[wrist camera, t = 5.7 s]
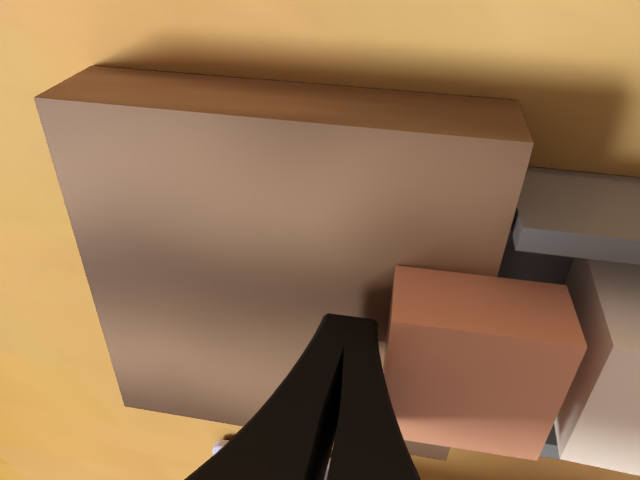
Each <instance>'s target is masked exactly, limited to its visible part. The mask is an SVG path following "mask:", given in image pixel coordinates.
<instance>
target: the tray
mask: <svg viewBox="0 0 640 480" xmlns="http://www.w3.org/2000/svg"><path fill="white" fill-rule="evenodd" d="M574 257H576V258H584V259H593V260H601V261H610V262H619V263H627V264H636V265H640V178H639V177H628V176H618V175H608V174H597V173H587V172H576V171H566V170H556V169H545V168H535V167H527V171H526V174H525V178H524V182H523V185H522V189H521V192H520V196H519V200H518V203H517V207H516V210H515V214H514V218H513V221H512V225H511V228H510V232H509V236H508V239H507V243H506V247H505V250H504V254H503V257H502V261H501V265H500V268H499V272H498V275H497V277H501V278H509V279H518V280H526V281H535V282H544V283H552V284H561V285H565V282H566V279H567V276H568V274H569V271H570V268H571V265H572V263H573V260H574ZM540 456H541V457H547V458H553V459H559V460H562V459H560V458H559V451H558V445H557V438H556V432H555V425H554V424H553V426H552V429H551V431H550V433H549V435H548V438H547V440H546V442H545V444H544V447H543V449H542V451H541V453H540ZM566 461H567V460H566Z"/></svg>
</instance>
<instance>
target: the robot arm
mask: <svg viewBox="0 0 640 480" xmlns="http://www.w3.org/2000/svg"><path fill="white" fill-rule="evenodd" d="M334 439H335V440H334ZM333 443H334V445H333ZM332 447H333V450H332ZM331 451H332V455H331ZM212 452H213V456H212V457H211V458H210V459H209V460H208V461H206V462H205V463H204V464H203V465H202V466H200V467H199V468H198V469H197V470H196V471H194V472H193V473H192V474H191V475H189V476H188V477H187V478H186V479H185V480H421V479H420V477H419V475H418V473H417V470H416V468H415V466H414V463H413V461H412V459H411V456H410V454H409V451H408V449H407V446H406V444H405V441H404V439H403V436H402V433H401V431H400V428H399V425H398V422H397V419H396V416H395V413H394V410H393V407H392V403H391V400H390V396H389V393H388V389H387V385H386V381H385V377H384V373H383V368H382V363H381V358H380V352H379V344H378V323H377V322H376V321H375V320H374V319H368V318H361V317H353V316H346V315H338V314H331V313H327V314H326V315H324V316H323V318H322V320H321V323H320V325H319V327H318V329H317V330H316V332H315V334H314V336H313V337H312V339H311V341H310V342H309V344H308V346H307V347H306V349H305V350H304V352H303V353H302V355H301V356H300V358H299V359H298V361H297V362H296V364H295V365H294V366H293V368H292V369H291V371H290V372H289V374H288V375H287V376H286V378H285V379H284V380H283V381H282V383H281V384H280V385H279V386H278V388H277V389H276V390H275V391H274V393H273V394H272V395H271V396H270V398H269V399H268V400H267V401H266V402H265V404H264V405H263V406H262V407H261V408H260V409H259V410H258V412H257V413H256V414H255V415H254V416H253V417H252V418H251V419H250V420H249V421H248V422H247V423H246V424H245V426H244V427H243V428H242V429H241V430H240V431H239V432H238V433H237V434H236V435H234V436H233V437H232V438H231V439H230V440H218V441H216V442H215V444H214V447H213V450H212ZM330 455H331V458H330Z"/></svg>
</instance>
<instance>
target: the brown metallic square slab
mask: <svg viewBox="0 0 640 480" xmlns="http://www.w3.org/2000/svg"><path fill="white" fill-rule="evenodd" d="M34 100H35V103H36V107H37V110H38V113H39V117H40V120H41V124H42V127H43V130H44V134H45V137H46V141H47V144H48V147H49V151H50V154H51V158H52V161H53V164H54V168H55V171H56V175H57V178H58V181H59V185H60V188H61V191H62V195H63V198H64V202H65V205H66V208H67V212H68V215H69V219H70V222H71V225H72V229H73V232H74V236H75V239H76V242H77V246H78V249H79V253H80V256H81V259H82V263H83V266H84V270H85V273H86V276H87V280H88V283H89V287H90V290H91V293H92V297H93V300H94V304H95V307H96V310H97V314H98V317H99V321H100V324H101V327H102V331H103V334H104V337H105V341H106V344H107V348H108V351H109V354H110V358H111V361H112V365H113V368H114V371H115V375H116V378H117V382H118V385H119V388H120V392H121V395H122V399H123V402H124V405H125V406H126V407H132V408H138V409H144V410H150V411H156V412H162V413H168V414H174V415H180V416H185V417H191V418H197V419H203V420H209V421H215V422H221V423H227V424H233V425H239V426H245V424H246V423H247V422H248V421H249V420H250V419H251V418H252V417H253V416H254V415H255V414H256V413H257V412H258V410H259V409H260V408H261V407H262V406H263V405H264V404H265V402H266V401H267V400H268V399H269V398H270V396H271V395H272V394H273V393H274V391H275V390H276V389H277V388H278V386H279V385H280V384H281V383H282V381H283V380H284V379H285V378H286V376H287V375H288V374H289V372H290V371H291V369H292V368H293V366H294V365H295V364H296V362H297V361H298V359H299V358H300V356H301V355H302V353H303V352H304V350H305V349H306V347H307V346H308V344H309V342H310V341H311V339H312V337H313V336H314V334H315V332H316V330H317V329H318V327H319V325H320V323H321V320H322V318H323V316H324V315H326V314H327V313H331V314H338V315H346V316H353V317H361V318H368V319H374V320H375V321H376V322H377V323H378V344H379V352H380V358H381V363H382V365H383V357H384V349H385V342H386V334H387V326H388V319H389V311H390V303H391V296H392V288H393V280H394V273H395V265H398V266H407V267H415V268H424V269H432V270H441V271H449V272H458V273H467V274H475V275H484V276H492V277H497V275H498V272H499V268H500V265H501V261H502V257H503V254H504V250H505V247H506V243H507V239H508V236H509V232H510V228H511V225H512V221H513V218H514V214H515V210H516V207H517V203H518V200H519V196H520V192H521V189H522V185H523V182H524V178H525V174H526V171H527V167H528V164H529V160H530V156H531V153H532V149H533V145H534V141H533V139H532V136H531V133H530V131H529V128H528V126H527V123H526V120H525V118H524V115H523V113H522V110H521V107H520V105H519V102H518V100H508V99H496V98H484V97H472V96H459V95H447V94H435V93H422V92H410V91H398V90H385V89H373V88H361V87H348V86H336V85H324V84H311V83H299V82H287V81H274V80H262V79H250V78H237V77H225V76H213V75H200V74H188V73H176V72H163V71H151V70H139V69H127V68H114V67H102V66H90V67H88V68H86V69H84V70H83V71H81V72H79V73H77V74H75V75H74V76H72V77H70V78H68V79H66V80H65V81H63V82H61V83H59V84H57V85H56V86H54V87H52V88H50V89H48V90H46V91H45V92H43V93H41V94H39V95H37V96H36V97H34ZM334 440H335V439H334ZM404 441H405V444H406V446H407V449H408V451H409V454H410V455H416V456H421V457H427V458H433V459H439V460H445V461H446V459H447V456H448V452H449V449H450V447H446V446H439V445H433V444H427V443H420V442H414V441H408V440H404Z"/></svg>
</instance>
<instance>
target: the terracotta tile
mask: <svg viewBox="0 0 640 480" xmlns="http://www.w3.org/2000/svg"><path fill="white" fill-rule="evenodd" d="M587 348H588V346H587V343H586V341H585V338H584V335H583V332H582V329H581V326H580V323H579V320H578V317H577V314H576V311H575V309H574V306H573V303H572V300H571V297H570V294H569V291H568V288H567V285H561V284H552V283H544V282H535V281H526V280H518V279H509V278H501V277H492V276H484V275H475V274H467V273H458V272H449V271H441V270H432V269H424V268H415V267H407V266H398V265H395V273H394V280H393V288H392V296H391V303H390V311H389V319H388V326H387V334H386V342H385V349H384V357H383V365H382V368H383V373H384V377H385V381H386V385H387V389H388V393H389V396H390V400H391V403H392V407H393V410H394V413H395V416H396V419H397V422H398V425H399V428H400V431H401V433H402V436H403V439H404V440H408V441H414V442H420V443H427V444H433V445H439V446H446V447H452V448H458V449H465V450H471V451H478V452H484V453H490V454H497V455H503V456H509V457H516V458H522V459H528V460H535V461H537V460H538V458H539V456H540V453H541V451H542V449H543V447H544V444H545V442H546V440H547V438H548V435H549V433H550V431H551V429H552V426H553V424H554V422H555V420H556V417H557V415H558V413H559V411H560V408H561V406H562V404H563V402H564V399H565V397H566V395H567V393H568V390H569V388H570V386H571V384H572V381H573V379H574V377H575V375H576V372H577V370H578V368H579V366H580V363H581V361H582V359H583V357H584V354H585V352H586V350H587Z"/></svg>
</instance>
